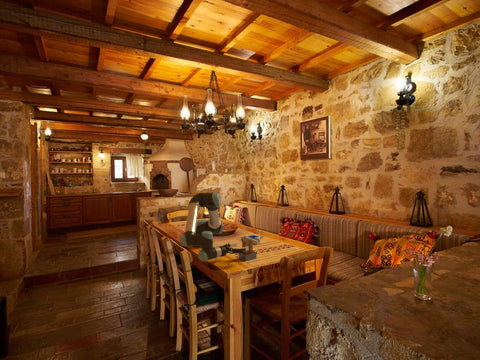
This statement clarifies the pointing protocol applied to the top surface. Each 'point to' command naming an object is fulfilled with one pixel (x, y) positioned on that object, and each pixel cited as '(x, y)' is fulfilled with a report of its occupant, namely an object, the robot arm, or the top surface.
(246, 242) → the brown wooden block
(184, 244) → the robot arm
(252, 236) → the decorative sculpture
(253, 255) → the endcap
